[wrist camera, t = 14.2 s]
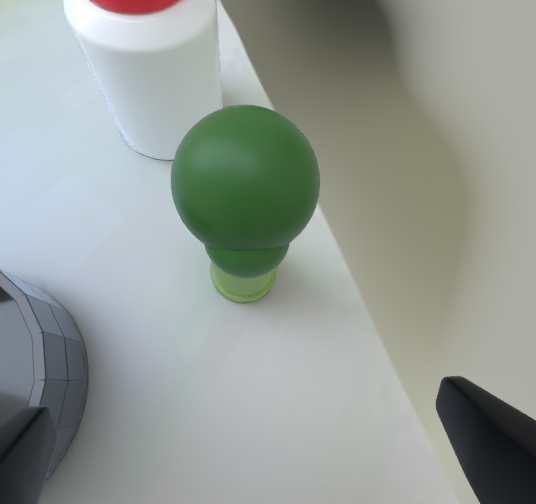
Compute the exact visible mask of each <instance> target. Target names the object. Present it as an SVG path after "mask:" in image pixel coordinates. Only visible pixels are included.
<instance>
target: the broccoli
mask: <svg viewBox="0 0 536 504" xmlns="http://www.w3.org/2000/svg"><path fill="white" fill-rule="evenodd" d="M319 188H320V173H319V168H318V163H317V159H316V156H315V154H314V151H313V149H312V147H311V145H310V143H309V141H308V140H307V138H306V137H305V136H304V134H303V133H302V132H301V131H300V130H299V129H298V128H297V126H296V125H294V124H293V123H292V122H291V121H290V120H288V119H287V118H285V117H284V116H282V115H280V114H278V113H276V112H274V111H272V110H269V109H267V108H263V107H259V106H253V105H236V106H230V107H226V108H223V109H220V110H217V111H215V112H213V113H211V114H209V115H207V116H205V117H204V118H202V119H201V120H200V121H198V122H197V123H196V124H195V125H194V126H193V127H192V128H191V129H190V130H189V131H188V132H187V134H186V135H185V137H184V138H183V140H182V141H181V143H180V145H179V147H178V149H177V151H176V154H175V157H174V160H173V164H172V170H171V190H172V196H173V200H174V204H175V206H176V209H177V211H178V213H179V215H180V217H181V219H182V221H183V223H184V224H185V225H186V227H187V228H188V229H189V230H190V232H191V233H192V234H193V235H194V236H195V237H196V238H197V239H199V240H200V241H201V242H202V243H204V245H205V248H206V251H207V253H208V255H209V257H210V259H211V261H212V262H211V277H212V281H213V283H214V286H215V287H216V289H217V290H218V292H219V293H220V294H221V295H223V296H224V297H225V298H227V299H229V300H231V301H234V302H239V303H248V302H253V301H255V300H258V299H260V298H261V297H263V296H264V295H265V294H266V293H267V292H268V291H269V290H270V288H271V287H272V285H273V282H274V279H275V276H276V267H277V266H278V265H279V264H280V263H281V261H282V260H283V258H284V257H285V255H286V253H287V251H288V247H289V243H290V242H291V241H292V240H293V239H295V238H296V237H297V236H298V235H299V234H300V233H301V232H302V230H303V229H304V228H305V227H306V225H307V224H308V222H309V220H310V219H311V217H312V215H313V213H314V210H315V208H316V204H317V201H318V197H319Z"/></svg>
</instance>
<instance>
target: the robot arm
mask: <svg viewBox="0 0 536 504" xmlns="http://www.w3.org/2000/svg"><path fill="white" fill-rule="evenodd" d="M436 410H437V413H438V415H439V418H440V419H441V422H442V424H443V427H444V429H445V431H446V433H447V435H448V438H449V440H450V442H451V444H452V447H453V449H454V451H455V454H456V456H457V458H458V460H459V463H460V465H461V467H462V469H463V471H464V474H465V476H466V478H467V480H468V482H469V483H470V485H471V487H472V489H473V491H474V493H475V495H476V496H477V498H478V500H479V502H480V504H536V420H534V419H532V418H531V417H529V416H527V415H526V414H524V413H522V412H521V411H519V410H517V409H516V408H514V407H512V406H511V405H509V404H507V403H505V402H504V401H502V400H501V399H499V398H497V397H496V396H494V395H492V394H490V393H489V392H487V391H485V390H484V389H482V388H480V387H479V386H477V385H475V384H474V383H472V382H470V381H469V380H467V379H465V378H464V377H461V376H451V377H444V378H443V379H442V381H441V384H440V388H439V392H438V395H437V399H436ZM57 441H58V431H57V428H56V425H55V422H54V419H53V416H52V412H51V410H50V408H49V407H48V406H32V407H27V408H25V409H23V410H22V411H20V412H19V413H18V414H16V415H15V416H14V417H12V418H11V419H10V420H9V421H7V422H6V423H5V424H3V425H2V426H1V427H0V504H37V503H38V500H39V497H40V494H41V491H42V488H43V485H44V482H45V479H46V476H47V473H48V470H49V466H50V463H51V460H52V457H53V454H54V451H55V448H56V445H57Z"/></svg>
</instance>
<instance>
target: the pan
mask: <svg viewBox="0 0 536 504" xmlns="http://www.w3.org/2000/svg"><path fill="white" fill-rule="evenodd" d="M87 386H88V365H87V356H86V351H85V347H84V343H83V340H82V337H81V335H80V332H79V330H78V328H77V326H76V324H75V323H74V321H73V319H72V318H71V316H70V315H69V313H68V312H67V311H66V310H65V309H64V308H63V307H62V306H61V305H60V304H59V303H58V302H57V301H56V300H54V299H53V298H52V297H51V296H49V295H48V294H46V293H45V292H44V291H43V290H41V289H40V288H38V287H36V286H34V285H32V284H30V283H27V282H25V281H23V280H21V279H19V278H17V277H15V276H13V275H11V274H9V273H7V272H5V271H3V270H1V269H0V427H1V426H2V425H3V424H5V423H6V422H7V421H9V420H10V419H11V418H12V417H14V416H15V415H16V414H18V413H19V412H20V411H22V410H23V409H25V408H27V407H32V406H48V407H49V408H50V410H51V412H52V416H53V419H54V422H55V425H56V428H57V431H58V441H57V445H56V448H55V451H54V454H53V457H52V460H51V463H50V466H49V470H48V473H47V476H46V479H45V482H46V480H47V479H48V478H49V477H50V476H51V474H52V473H53V472H54V470H55V469H56V467H57V466H58V464H59V463H60V461H61V460H62V458H63V457H64V455H65V453H66V451H67V449H68V447H69V445H70V443H71V441H72V439H73V437H74V435H75V432H76V430H77V427H78V425H79V422H80V420H81V416H82V412H83V408H84V405H85V400H86V393H87ZM45 482H44V483H45Z"/></svg>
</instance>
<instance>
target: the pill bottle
mask: <svg viewBox="0 0 536 504" xmlns="http://www.w3.org/2000/svg"><path fill="white" fill-rule="evenodd" d="M63 6H64V13H65V17H66V19H67V21H68V23H69V25H70V28H71V30H72V32H73V34H74V36H75V38H76V40H77V42H78V45H79V47H80V49H81V51H82V53H83V55H84V57H85V59H86V62H87V64H88V66H89V68H90V70H91V72H92V74H93V76H94V78H95V81H96V83H97V85H98V87H99V89H100V91H101V93H102V95H103V98H104V100H105V102H106V104H107V106H108V108H109V110H110V112H111V115H112V117H113V119H114V121H115V123H116V125H117V127H118V129H119V131H120V134H121V136H122V138H123V139H124V140H125V141H126V143H127V144H128V145H129V146H130V147H132V148H133V149H134V150H135V151H137V152H139V153H141V154H143V155H145V156H148V157H152V158H155V159H163V160H174V157H175V154H176V151H177V149H178V147H179V145H180V143H181V141H182V140H183V138H184V137H185V135H186V134H187V132H188V131H189V130H190V129H191V128H192V127H193V126H194V125H195V124H196V123H197V122H198V121H200V120H201V119H202V118H204V117H205V116H207V115H209V114H211V113H213V112H215V111H217V110H220V109H223V100H222V83H221V66H220V50H219V33H218V17H217V3H216V0H63Z"/></svg>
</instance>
